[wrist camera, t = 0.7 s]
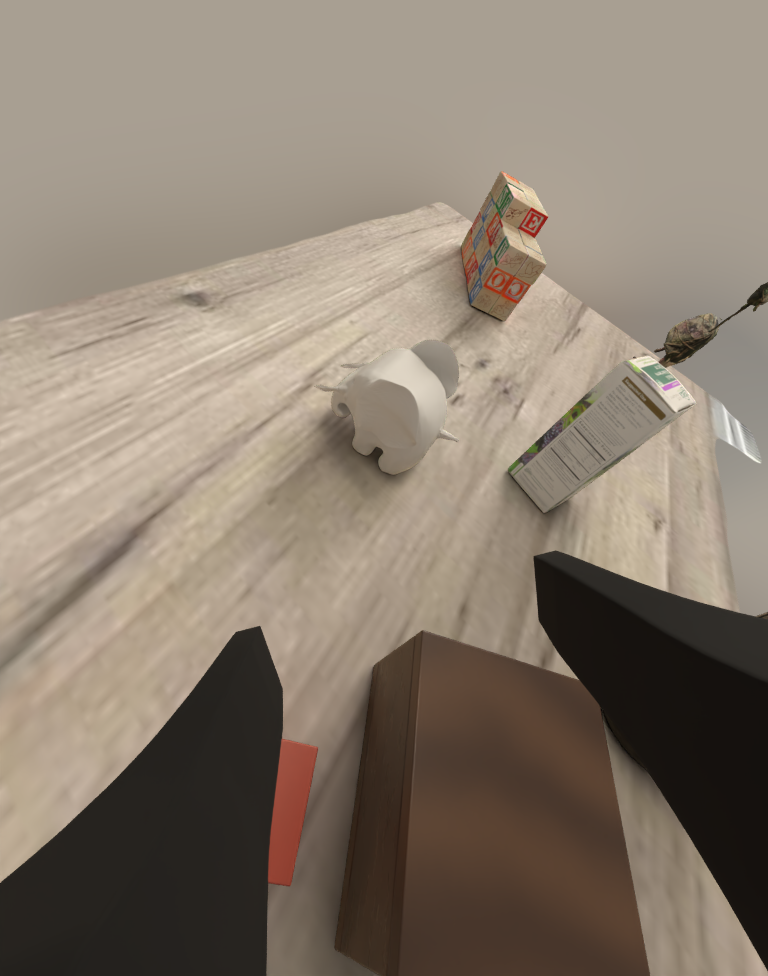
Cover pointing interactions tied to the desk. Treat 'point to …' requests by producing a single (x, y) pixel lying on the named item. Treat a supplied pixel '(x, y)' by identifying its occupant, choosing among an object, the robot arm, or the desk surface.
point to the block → (289, 808)
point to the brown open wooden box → (485, 824)
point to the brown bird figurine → (700, 331)
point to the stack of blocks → (504, 247)
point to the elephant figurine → (399, 402)
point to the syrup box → (601, 431)
